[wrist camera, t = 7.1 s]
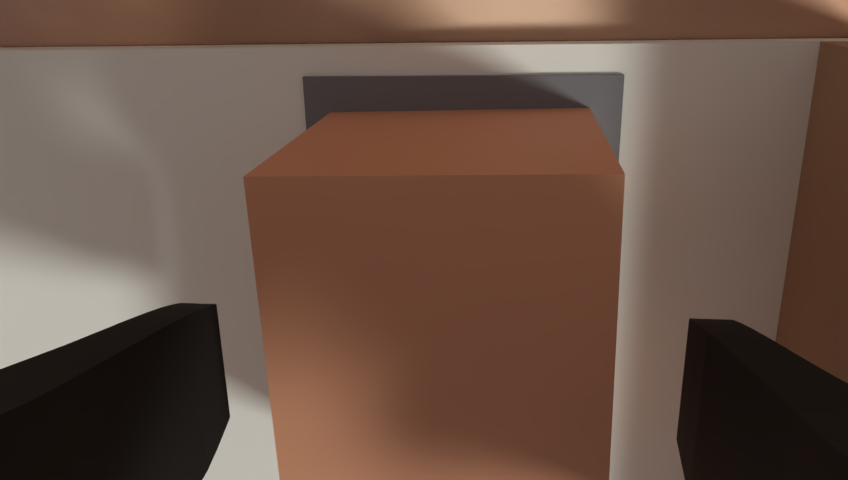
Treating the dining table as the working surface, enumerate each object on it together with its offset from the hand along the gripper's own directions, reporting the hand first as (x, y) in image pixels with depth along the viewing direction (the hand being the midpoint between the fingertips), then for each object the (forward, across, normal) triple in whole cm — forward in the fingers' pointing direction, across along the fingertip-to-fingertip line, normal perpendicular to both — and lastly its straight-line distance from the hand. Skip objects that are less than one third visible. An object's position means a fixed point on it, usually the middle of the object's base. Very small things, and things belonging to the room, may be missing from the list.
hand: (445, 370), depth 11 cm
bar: (+3, 0, 0) cm, 3 cm away
